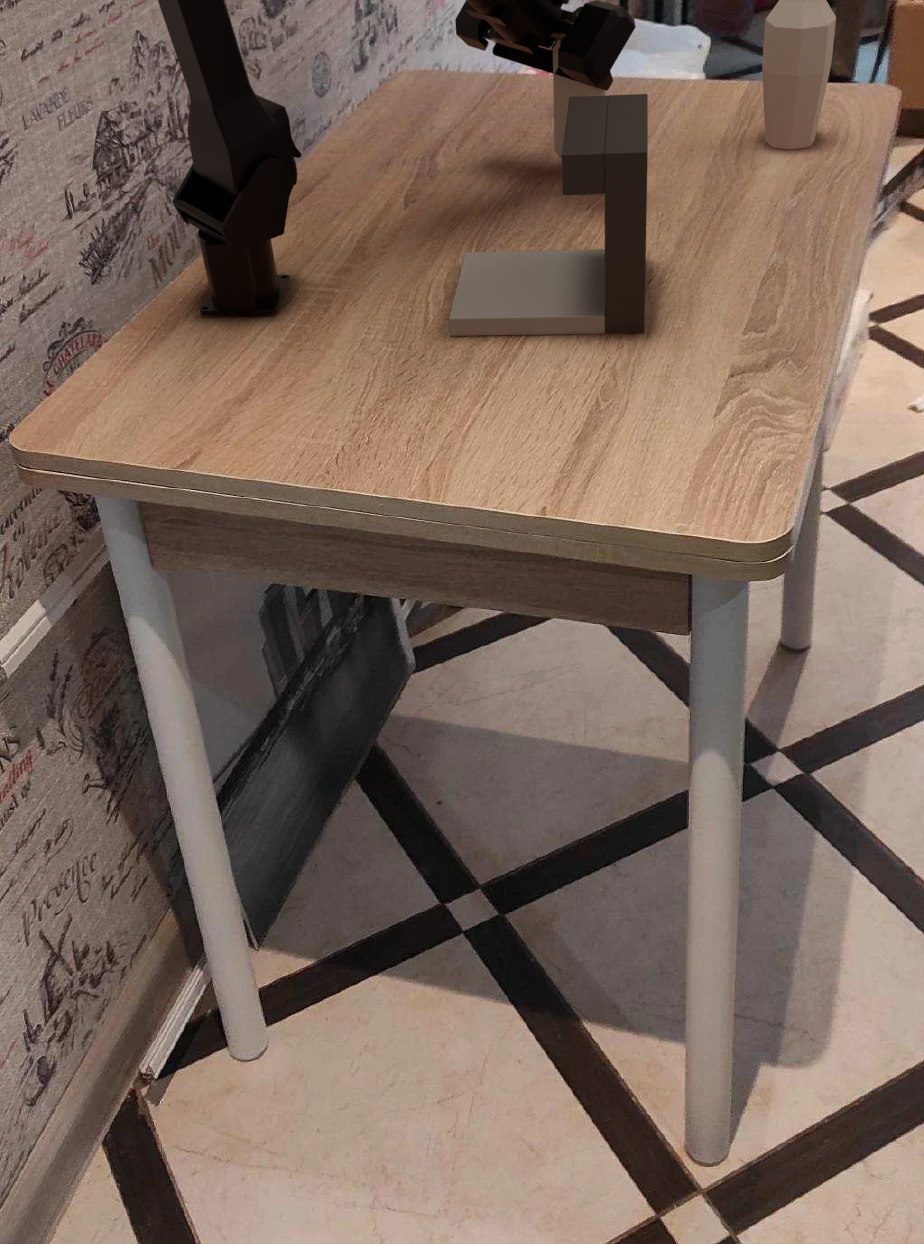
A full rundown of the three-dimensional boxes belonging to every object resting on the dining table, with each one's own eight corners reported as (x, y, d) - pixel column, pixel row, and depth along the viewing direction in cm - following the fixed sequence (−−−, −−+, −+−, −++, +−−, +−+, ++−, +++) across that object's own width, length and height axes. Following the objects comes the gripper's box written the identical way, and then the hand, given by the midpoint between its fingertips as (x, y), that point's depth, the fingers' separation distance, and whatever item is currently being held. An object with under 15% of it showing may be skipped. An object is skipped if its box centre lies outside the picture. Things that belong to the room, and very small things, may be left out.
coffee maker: (644, 333, 102) (647, 152, 93) (450, 336, 104) (435, 158, 95) (644, 264, 111) (647, 93, 102) (466, 268, 113) (453, 100, 104)
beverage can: (612, 159, 125) (614, 24, 117) (564, 167, 124) (562, 32, 117) (594, 142, 129) (595, 10, 121) (547, 150, 128) (544, 18, 120)
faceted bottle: (821, 128, 131) (847, -122, 117) (825, 152, 127) (852, -105, 113) (756, 129, 132) (773, -119, 118) (757, 153, 128) (775, -102, 114)
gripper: (620, -99, 104) (711, 19, 116) (473, -126, 116) (569, -17, 128) (545, 30, 105) (643, 133, 117) (408, -10, 117) (509, 88, 129)
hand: (590, 79), depth 123 cm, fingers closed on beverage can, 5 cm apart
